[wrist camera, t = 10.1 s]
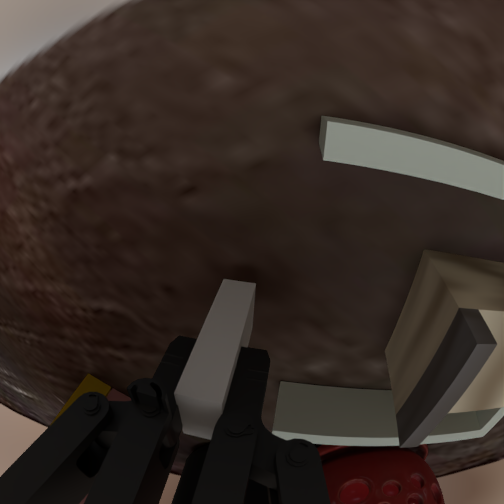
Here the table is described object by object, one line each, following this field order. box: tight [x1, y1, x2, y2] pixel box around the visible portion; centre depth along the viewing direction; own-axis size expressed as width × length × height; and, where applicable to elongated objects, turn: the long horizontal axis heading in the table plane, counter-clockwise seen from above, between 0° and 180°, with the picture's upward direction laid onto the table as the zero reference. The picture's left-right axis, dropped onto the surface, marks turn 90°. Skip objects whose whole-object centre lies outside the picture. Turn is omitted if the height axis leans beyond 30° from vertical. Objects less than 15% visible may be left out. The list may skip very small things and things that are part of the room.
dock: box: [272, 116, 504, 446], centre depth 13 cm, size 16×17×4 cm
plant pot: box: [317, 444, 445, 504], centre depth 18 cm, size 13×13×12 cm
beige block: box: [385, 249, 504, 448], centre depth 12 cm, size 9×7×7 cm
